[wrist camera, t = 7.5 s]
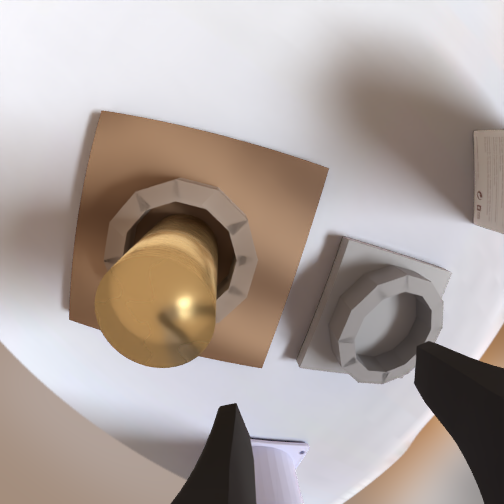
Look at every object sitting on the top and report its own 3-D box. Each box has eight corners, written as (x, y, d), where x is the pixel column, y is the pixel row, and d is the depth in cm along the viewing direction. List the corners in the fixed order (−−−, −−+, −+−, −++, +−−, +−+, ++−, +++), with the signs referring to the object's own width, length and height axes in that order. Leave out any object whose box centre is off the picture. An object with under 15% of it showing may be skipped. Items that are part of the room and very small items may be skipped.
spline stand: (396, 371, 22) (413, 392, 19) (296, 359, 21) (306, 386, 18) (444, 268, 20) (468, 282, 17) (343, 236, 19) (363, 248, 16)
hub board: (259, 359, 21) (265, 387, 18) (74, 313, 19) (56, 334, 16) (323, 168, 18) (341, 169, 15) (107, 112, 16) (87, 104, 13)
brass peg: (232, 260, 18) (240, 334, 10) (173, 296, 18) (145, 383, 10) (192, 199, 16) (166, 229, 9) (133, 239, 17) (72, 296, 9)
